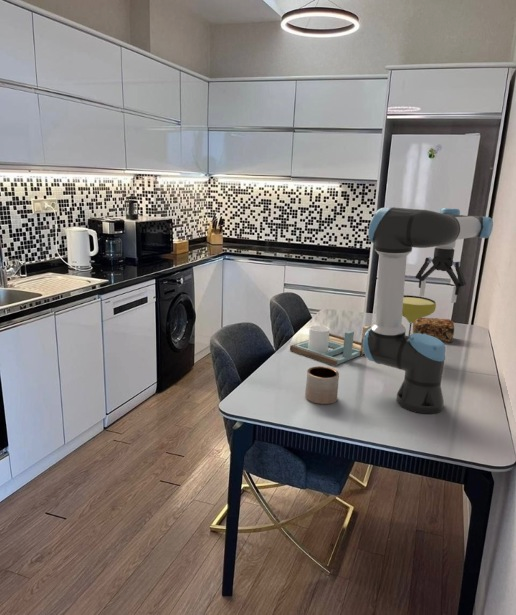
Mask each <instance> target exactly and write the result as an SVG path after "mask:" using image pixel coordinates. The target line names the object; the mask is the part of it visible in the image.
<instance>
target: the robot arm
mask: <svg viewBox="0 0 516 615" xmlns="http://www.w3.org/2000/svg"><path fill="white" fill-rule="evenodd" d="M493 221H494V220H493V219H492V218H491V217H490V216H480V215H465V214H464V215H463V214H462V215H461V211H460V209H459V208H444V207H442V208H441V209H440V211H439V212H437V211H434V210H427V209H415V208H403V207H402V208H401V207H395V206H393V207H392V206H391V207H380V208H379V209H378V210H376V211H375V213H374V214H373V216H372V217H371V219H370V223H369V226H368V232H367V236H368V240H369V242H371V243H372V244H374V251H375V252H376V253H377V255H378V257H379V258H378V270H377V271H378V274H377V288H376V289H377V291H376V306H375V307H376V308H375V309H376V310H375V311H376V312H375V322H374V323H372V324H371V325H370V326H371V328H370V329H368V330H367V332H366V333H365V338H364V340H363V350H364V354H363V355H364V356H365V357H366V358H367V359H368V360H369V361H371V362H375V363H376V364H377V365H384V366H387V367H391V368H395V369H396V370H401V371H404V380H403V382H402V383H401V384H400V387H399V389H398V391H397V393H396V400H395V401H396V403H397V404H398V405H399V406H400V407H402V408H403V409H406V410H408V411H411V412H414V413H418V414H419V413H420V414H431V415H432V414H437V413H440V412H442V411H443V410H444V402H445V401H444V395H443V391H442V387H441V385H442V380H443V379H442V378H443V372H444V366H445V360H446V350H447V349H446V344H445V342H442V341H441V340H439V339H437V338H435V337H433V336H430V335H426V334H420V333H414V334H413V333H410V337H409V336H408V335H406V327H405V326H404V325H403V324H402V322H403V316H402V310H403V297H404V295H405V294H404V292H405V282H406V281H405V280H406V269H407V256H408V255H409V254H410V253H411V252H412V251H413V248H415V249H416V248H417V249H422V248H434V252H433V258H431V257H430V256H428V257H425V260H424V263H423V264H422V266H421V267H420V269H419V270H418V272H417V274H416V275H415V279H417V280H418V281H419V282H418V288H419V289H420V290H419V297H424V296H425V292H426V291H425V290H426V283H427V280H426V279H427V278H429V276H430V275H431V274H432V273H433V272H434V271H441V272H446V273H447V274H448V276H449V277H450V279H451V280H452V283H453V284H454V286H453V288H452V289H453V290H452V294H451V301H450V302H451V304H455V303H457V297H458V295H460V293H461V288H462V287H466V286H467V283H466V280H465V279H466V278H465V276H464V273H463V269H462V267H461V266H462V262H461V261H454V257H455V256H454V255H455V251H456V249H455V247H456V243H457V240H463V239H469V238H471V239H472V238H479V239H488V238H490V236H491V234H492V233H493V232H492V231H493V227H494V222H493ZM431 263H432V266H431V267H430V268H429V269H428V270H427V268H428V267H429V265H430V264H431ZM452 267H454V268H455V272H456V273H455V272H454V270H453V268H452ZM426 270H427V271H426ZM425 271H426V272H425Z"/></svg>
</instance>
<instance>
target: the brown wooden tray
mask: <svg viewBox="0 0 516 615" xmlns="http://www.w3.org/2000/svg"><path fill="white" fill-rule="evenodd" d="M329 336H331V337H334V338H338V339H341V340H344V337H345V336H340V335H338V334H337V335H336V334H333V333H330V332H329ZM307 341H309V339H307V340H304V341H301V342H298V343H294V344H291V345H290V346H289V351H290V352H293V353H296V354H298V355H302V356H305V357H308V358H311V359H312V360H313V359H314V360H316V361H319V362H321V363H325V364H327V365H330V366H333V367H337V366H338V365H337V360H334V359H331V358H328V357H325V356H323V355H320V354H317V353H314V352H311V351H308V350H305V349H302V348H299V347H296V346H295V345H298V344H301V343H304V342H307ZM329 341H330V340H329ZM331 342H334V341H331ZM334 343H337V342H334ZM353 343H355V344H358V345H361V342H360V341H357V340H354V339H353ZM337 344H340V343H337ZM341 345H344V344H341ZM352 348H353V347H352ZM354 349H357V348H354ZM357 350H360V349H357ZM362 353H363V350H360V355H359V356H360V357H361V356H363V354H362Z"/></svg>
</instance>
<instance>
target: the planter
mask: <svg viewBox="0 0 516 615" xmlns="http://www.w3.org/2000/svg"><path fill="white" fill-rule="evenodd" d="M339 378H340V372H339V371H338V370H336V369H335V368H332V367H329V366H322V365H321V366H320V365H319V366H312V367H309V368H308V369H307V371H306V382H305V392H304V393H305V394H304V395H305V398H306V399H307V400H308V401H310V402H311V403H313V404H317V405H329V404H330V405H331V404H333V403H335V402H336V401H337V399H338V393H339V381H340V380H339Z"/></svg>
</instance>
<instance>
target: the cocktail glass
mask: <svg viewBox="0 0 516 615" xmlns="http://www.w3.org/2000/svg"><path fill="white" fill-rule="evenodd" d="M436 308H437V303H436V300H433V299H432V298H427V297H424V296H418V295H417V296H416V295H408V294H407V295H405V294H404V297H403V310H402V317H405V319H406V321H407V322H408V323H409V329H408V335H407V336H409V337H410V335H411V329H412V325H413V322H415V321H416V320H417V319H419V318H426V317H428V316H430V315H432V314H433V313H434V312H435V311H436Z"/></svg>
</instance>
